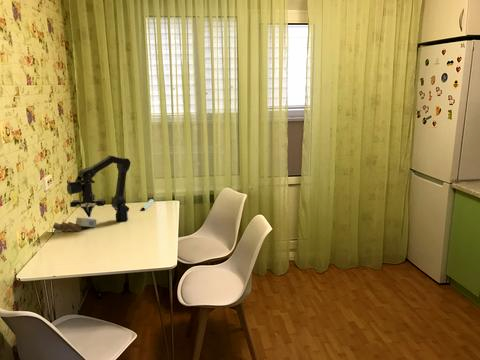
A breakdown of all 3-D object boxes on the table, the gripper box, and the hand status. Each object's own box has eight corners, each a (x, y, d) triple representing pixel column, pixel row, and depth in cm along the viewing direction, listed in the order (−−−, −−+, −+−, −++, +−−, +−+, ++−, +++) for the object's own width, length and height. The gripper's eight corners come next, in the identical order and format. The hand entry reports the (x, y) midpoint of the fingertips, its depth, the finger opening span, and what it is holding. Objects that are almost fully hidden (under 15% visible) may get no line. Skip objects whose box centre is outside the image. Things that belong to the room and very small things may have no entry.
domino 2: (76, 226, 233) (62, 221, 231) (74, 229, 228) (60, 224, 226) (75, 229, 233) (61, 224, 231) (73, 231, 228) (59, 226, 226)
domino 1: (82, 226, 233) (68, 221, 231) (80, 229, 228) (67, 224, 226) (81, 228, 233) (67, 223, 231) (79, 231, 229) (66, 226, 226)
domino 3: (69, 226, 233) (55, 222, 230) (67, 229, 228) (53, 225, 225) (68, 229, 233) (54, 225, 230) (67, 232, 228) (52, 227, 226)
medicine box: (86, 219, 230) (76, 217, 234) (85, 226, 230) (75, 224, 234) (97, 219, 237) (87, 217, 241) (95, 227, 237) (85, 225, 241)
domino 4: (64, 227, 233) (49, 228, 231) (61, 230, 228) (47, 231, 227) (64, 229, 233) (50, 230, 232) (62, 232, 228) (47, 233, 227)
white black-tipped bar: (145, 212, 268) (145, 207, 267) (135, 212, 268) (135, 207, 267) (154, 203, 290) (153, 199, 289) (145, 203, 290) (144, 199, 289)
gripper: (106, 187, 236) (108, 212, 240) (74, 188, 235) (76, 213, 238) (102, 191, 226) (104, 218, 229) (68, 193, 224) (71, 219, 227)
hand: (89, 217), depth 231 cm, fingers closed
